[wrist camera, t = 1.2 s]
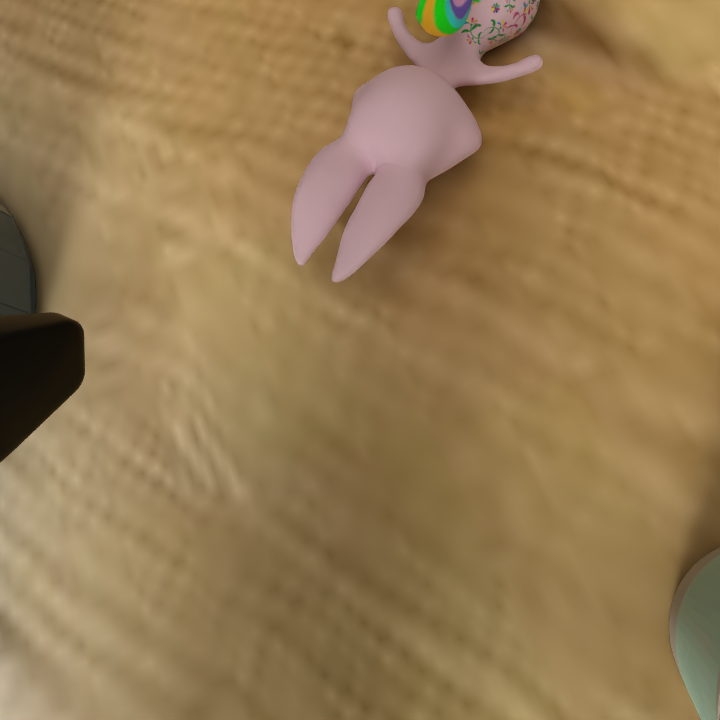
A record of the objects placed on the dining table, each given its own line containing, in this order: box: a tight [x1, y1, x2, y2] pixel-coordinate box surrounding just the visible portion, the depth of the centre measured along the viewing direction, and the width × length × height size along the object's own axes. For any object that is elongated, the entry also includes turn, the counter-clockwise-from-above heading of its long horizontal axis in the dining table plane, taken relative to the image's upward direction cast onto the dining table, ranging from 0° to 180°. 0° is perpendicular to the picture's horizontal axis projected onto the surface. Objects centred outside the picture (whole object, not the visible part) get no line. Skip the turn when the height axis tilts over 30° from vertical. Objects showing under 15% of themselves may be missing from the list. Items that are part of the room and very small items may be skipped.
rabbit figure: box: [291, 0, 543, 282], centre depth 23 cm, size 6×6×15 cm
